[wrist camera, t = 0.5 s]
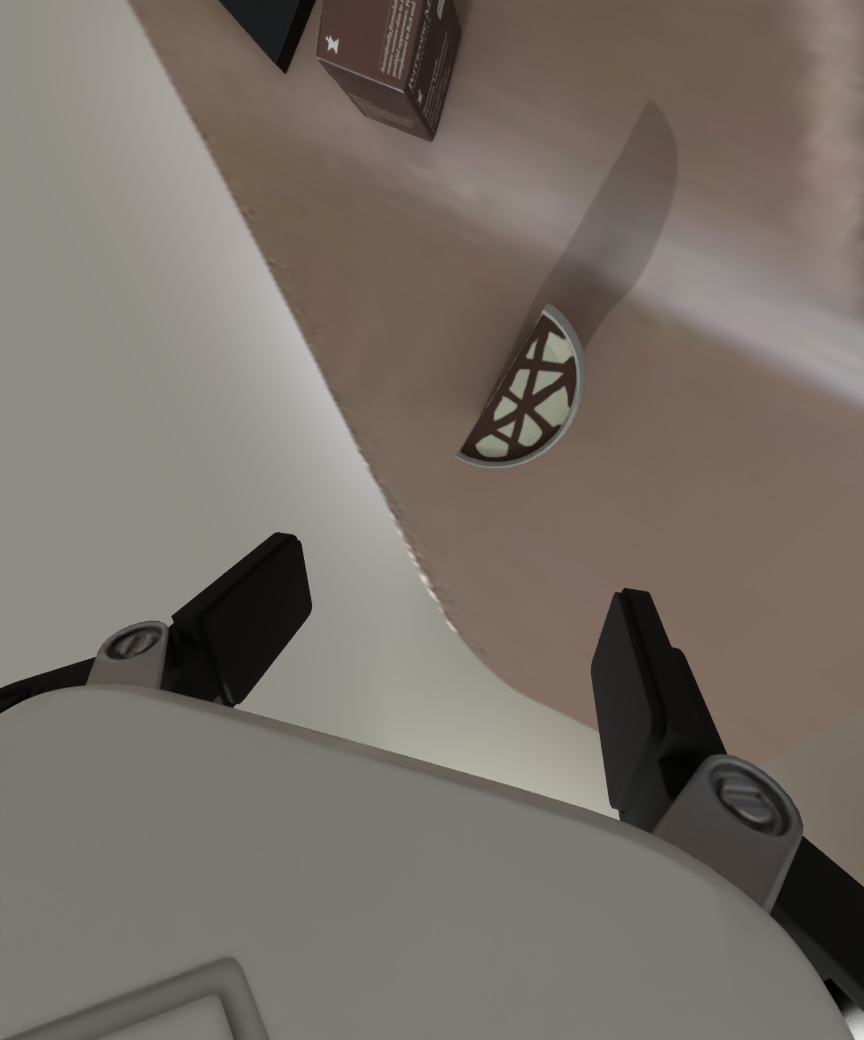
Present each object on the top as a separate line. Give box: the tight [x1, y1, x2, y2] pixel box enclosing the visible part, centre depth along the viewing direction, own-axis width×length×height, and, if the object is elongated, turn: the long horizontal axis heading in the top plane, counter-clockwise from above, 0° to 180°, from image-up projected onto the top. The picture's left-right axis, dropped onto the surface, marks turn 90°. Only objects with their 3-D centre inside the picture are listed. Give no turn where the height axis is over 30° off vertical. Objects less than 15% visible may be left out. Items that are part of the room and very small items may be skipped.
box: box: [316, 0, 461, 142], centre depth 24 cm, size 6×6×7 cm
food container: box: [455, 302, 586, 468], centre depth 30 cm, size 12×6×10 cm, turn 152°
